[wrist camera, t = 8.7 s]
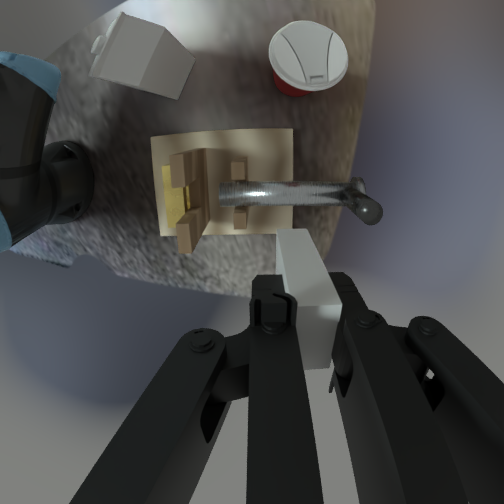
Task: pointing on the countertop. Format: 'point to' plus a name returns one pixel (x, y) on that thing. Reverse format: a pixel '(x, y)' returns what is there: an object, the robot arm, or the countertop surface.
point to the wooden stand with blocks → (222, 180)
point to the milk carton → (141, 57)
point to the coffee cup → (307, 58)
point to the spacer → (174, 198)
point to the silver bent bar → (302, 195)
